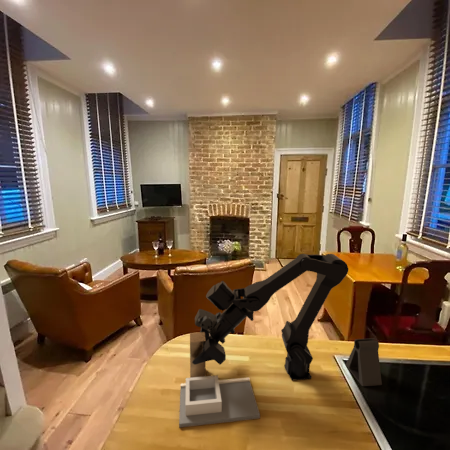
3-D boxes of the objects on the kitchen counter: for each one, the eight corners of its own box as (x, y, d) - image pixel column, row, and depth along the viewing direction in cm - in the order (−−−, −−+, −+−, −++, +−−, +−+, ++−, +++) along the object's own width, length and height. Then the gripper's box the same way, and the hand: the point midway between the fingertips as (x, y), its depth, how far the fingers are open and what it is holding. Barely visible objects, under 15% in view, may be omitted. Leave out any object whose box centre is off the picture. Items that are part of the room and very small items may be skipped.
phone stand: (381, 385, 76) (386, 348, 74) (362, 386, 76) (367, 349, 74) (363, 364, 85) (366, 331, 83) (345, 365, 84) (349, 331, 82)
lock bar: (204, 368, 82) (204, 332, 80) (205, 378, 78) (205, 341, 76) (190, 369, 81) (189, 333, 79) (190, 380, 77) (190, 342, 75)
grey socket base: (248, 381, 77) (249, 369, 76) (259, 418, 65) (260, 404, 64) (180, 388, 74) (180, 375, 73) (179, 427, 62) (178, 413, 62)
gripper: (208, 289, 85) (175, 322, 86) (213, 319, 67) (171, 360, 67) (231, 310, 88) (198, 342, 88) (242, 344, 69) (201, 384, 70)
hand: (192, 355), depth 78 cm, fingers open, 7 cm apart
